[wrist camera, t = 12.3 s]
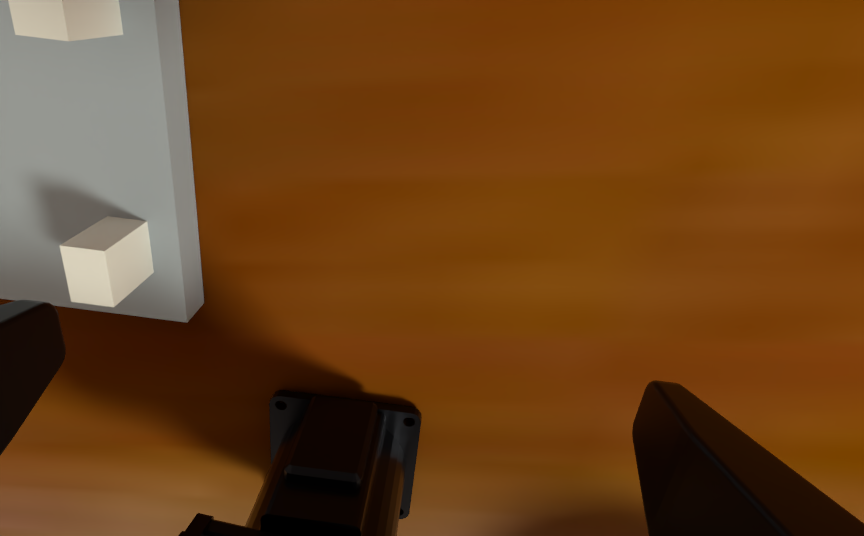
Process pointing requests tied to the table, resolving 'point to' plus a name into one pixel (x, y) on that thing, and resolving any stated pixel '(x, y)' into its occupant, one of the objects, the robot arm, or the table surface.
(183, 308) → the holder
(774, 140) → the table surface
